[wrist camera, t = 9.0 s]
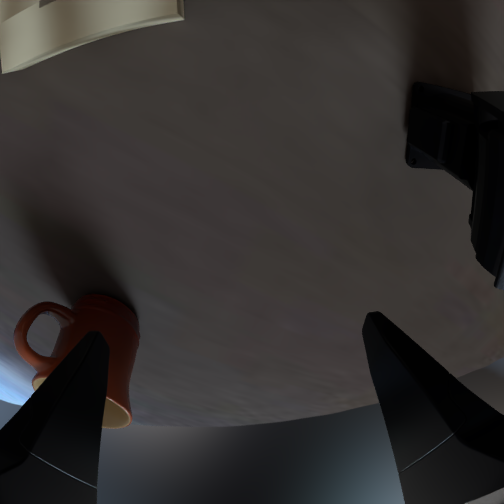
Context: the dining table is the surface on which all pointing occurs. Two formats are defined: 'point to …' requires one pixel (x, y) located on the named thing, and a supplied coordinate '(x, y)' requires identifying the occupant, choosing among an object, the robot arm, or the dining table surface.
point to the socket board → (72, 25)
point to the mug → (73, 330)
